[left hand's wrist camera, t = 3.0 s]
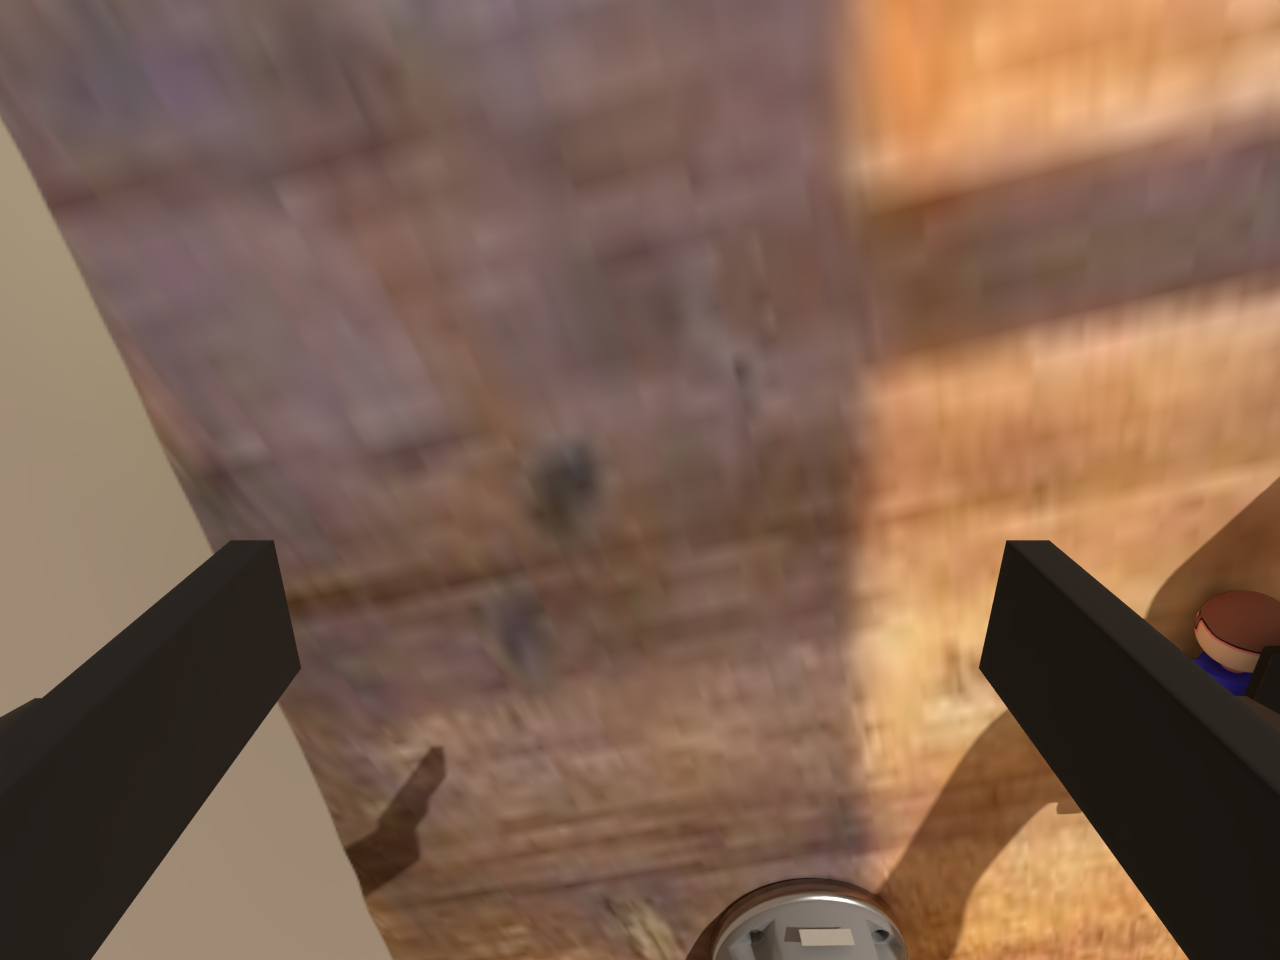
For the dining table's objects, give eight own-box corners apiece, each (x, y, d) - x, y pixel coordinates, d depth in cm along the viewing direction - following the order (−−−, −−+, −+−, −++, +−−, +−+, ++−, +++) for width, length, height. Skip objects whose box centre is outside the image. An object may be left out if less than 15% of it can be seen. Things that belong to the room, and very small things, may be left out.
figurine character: (1207, 741, 51) (1285, 571, 44) (1293, 837, 44) (1401, 656, 37) (1113, 745, 51) (1175, 577, 44) (1185, 842, 44) (1272, 662, 37)
